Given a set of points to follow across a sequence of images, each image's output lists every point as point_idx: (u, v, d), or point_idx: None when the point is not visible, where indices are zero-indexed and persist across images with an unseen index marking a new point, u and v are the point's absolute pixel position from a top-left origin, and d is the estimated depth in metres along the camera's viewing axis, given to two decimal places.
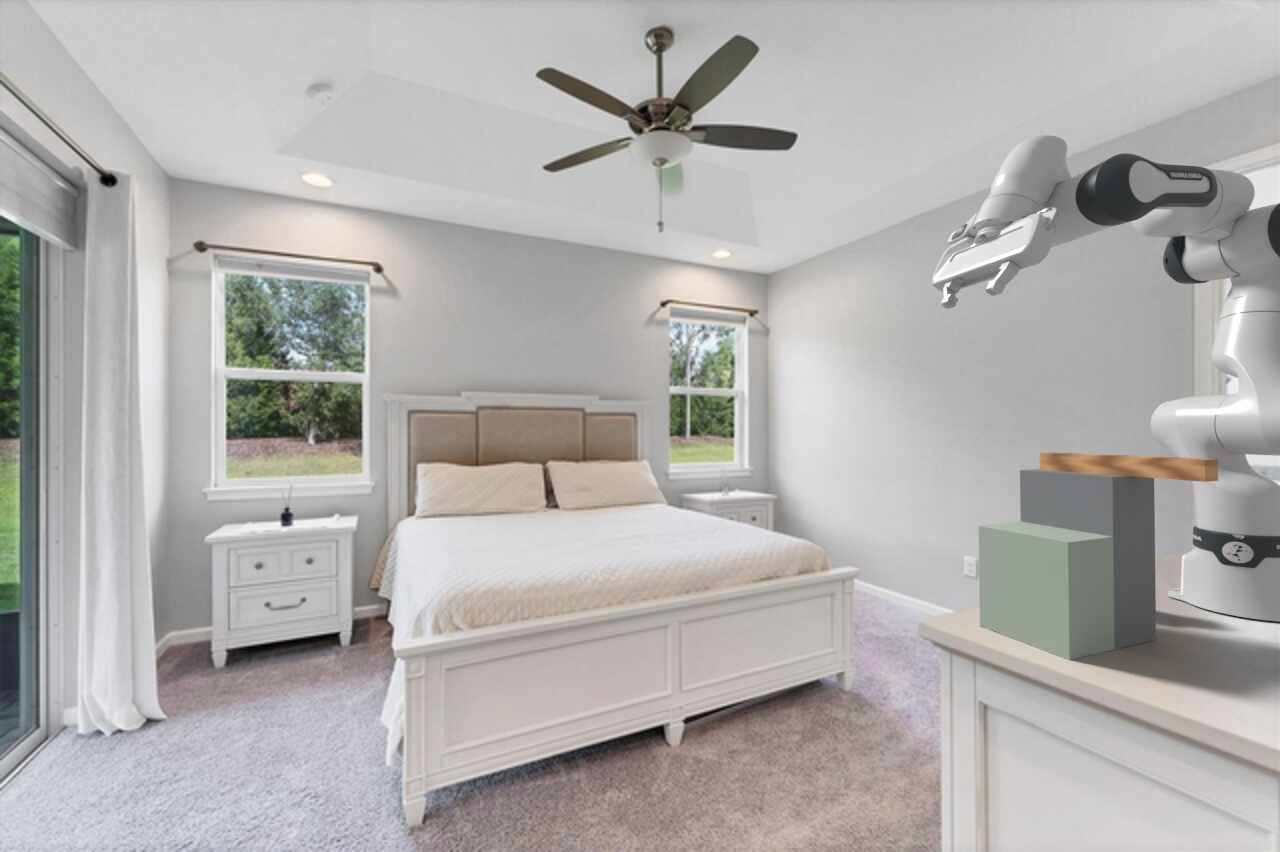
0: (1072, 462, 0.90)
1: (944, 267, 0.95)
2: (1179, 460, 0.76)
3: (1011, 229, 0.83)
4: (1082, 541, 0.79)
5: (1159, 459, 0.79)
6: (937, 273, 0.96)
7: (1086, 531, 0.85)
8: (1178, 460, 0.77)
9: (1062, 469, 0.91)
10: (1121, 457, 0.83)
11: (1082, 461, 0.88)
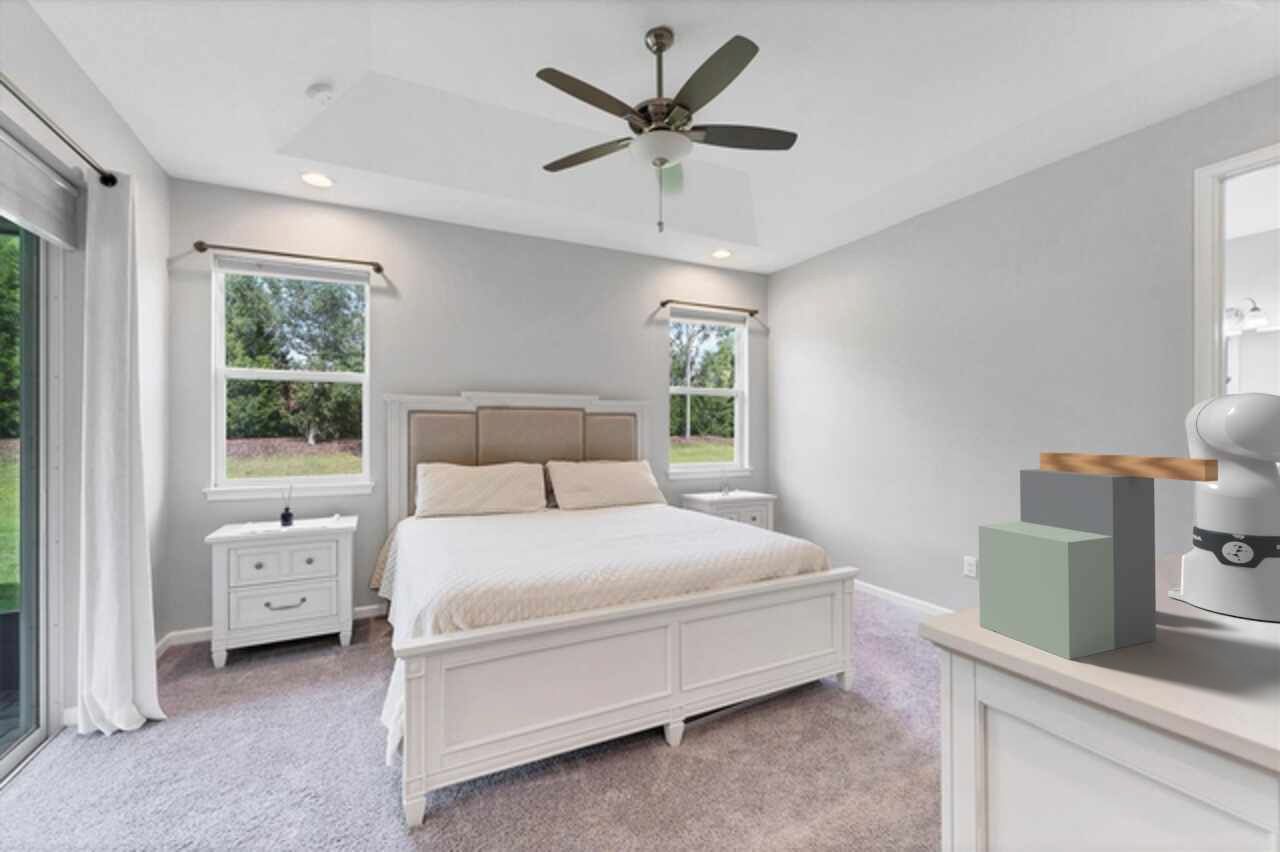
0: (1072, 462, 0.90)
1: None
2: (1179, 460, 0.76)
3: None
4: (1082, 541, 0.79)
5: (1159, 459, 0.79)
6: None
7: (1086, 531, 0.85)
8: (1178, 460, 0.77)
9: (1062, 469, 0.91)
10: (1121, 457, 0.83)
11: (1082, 461, 0.88)
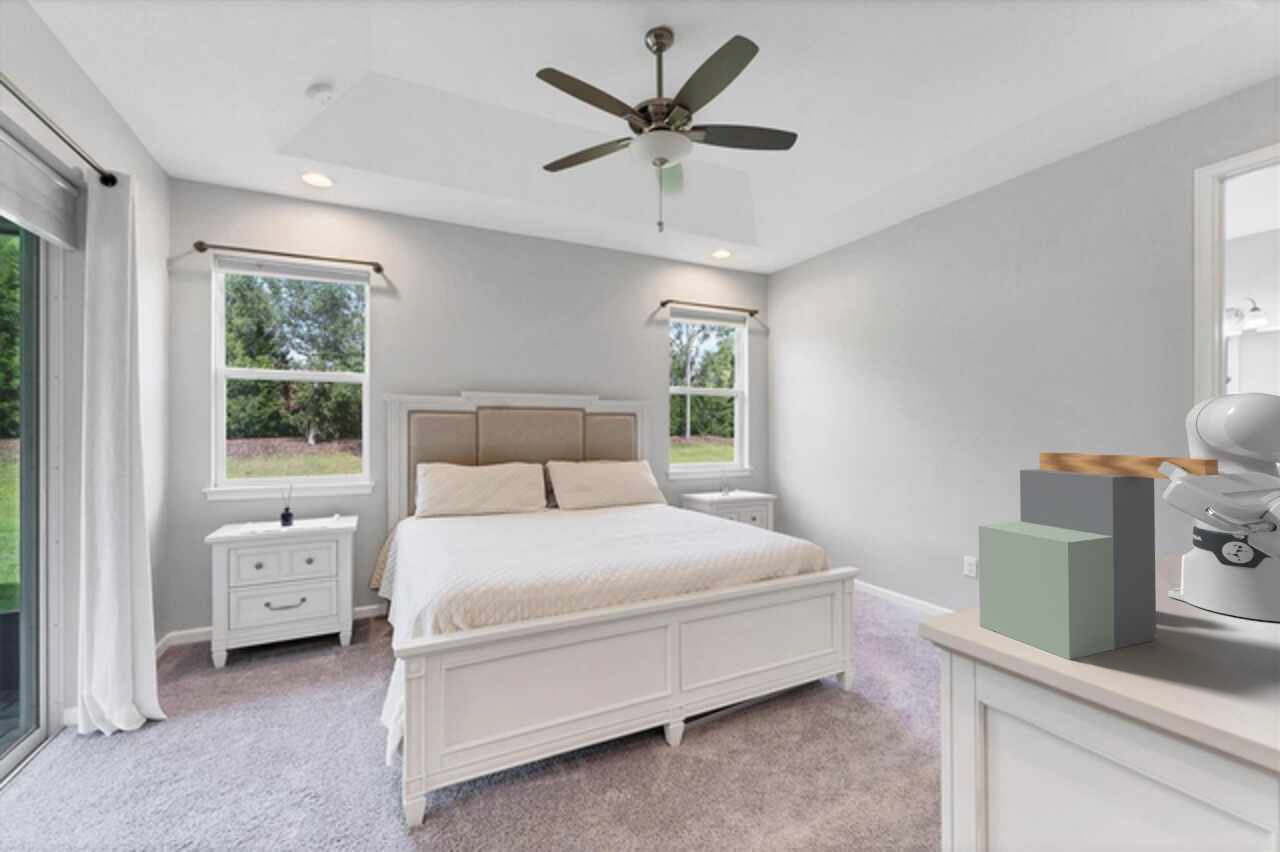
0: (1072, 461, 0.90)
1: (1277, 483, 0.74)
2: (1179, 460, 0.76)
3: (1247, 500, 0.68)
4: (1082, 541, 0.79)
5: (1159, 459, 0.79)
6: (1273, 478, 0.75)
7: (1086, 531, 0.85)
8: (1178, 460, 0.77)
9: (1062, 469, 0.91)
10: (1121, 457, 0.83)
11: (1082, 461, 0.88)
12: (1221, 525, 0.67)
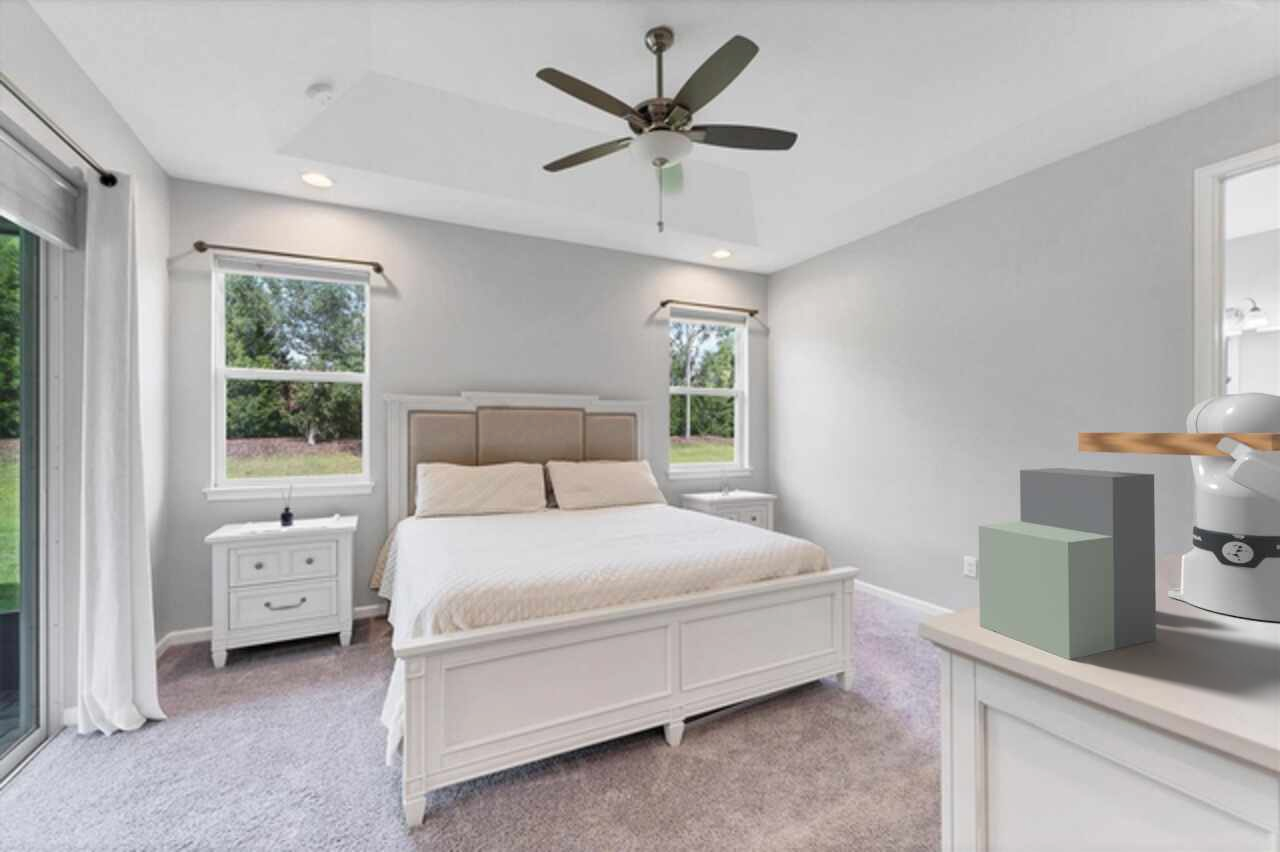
0: (1116, 441, 0.83)
1: None
2: (1241, 435, 0.70)
3: None
4: (1082, 541, 0.79)
5: (1217, 435, 0.72)
6: None
7: (1086, 531, 0.85)
8: (1240, 435, 0.70)
9: (1104, 450, 0.85)
10: (1173, 434, 0.77)
11: (1127, 440, 0.82)
12: None
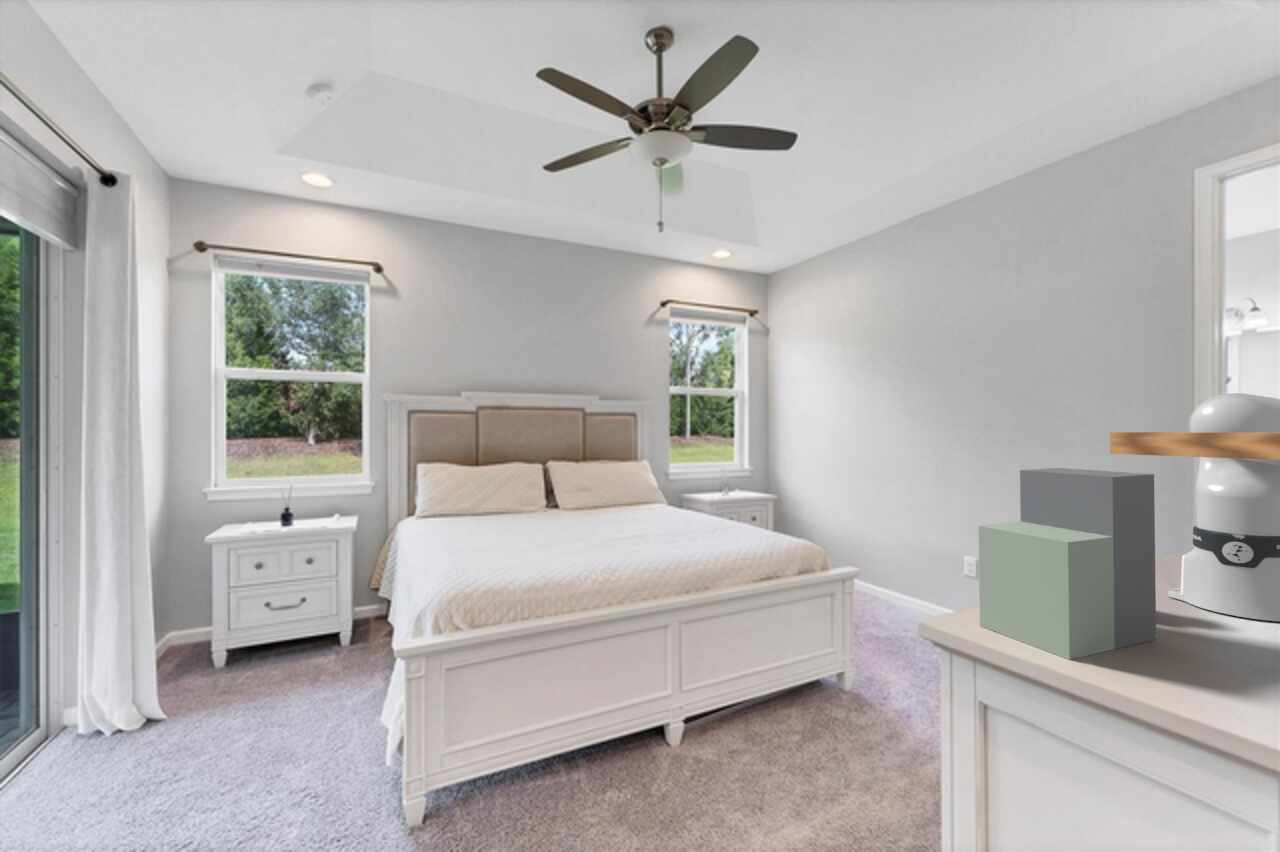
0: (1156, 442, 0.71)
1: None
2: None
3: None
4: (1082, 541, 0.79)
5: None
6: None
7: (1086, 531, 0.85)
8: None
9: (1141, 452, 0.72)
10: (1228, 434, 0.64)
11: (1170, 441, 0.70)
12: None
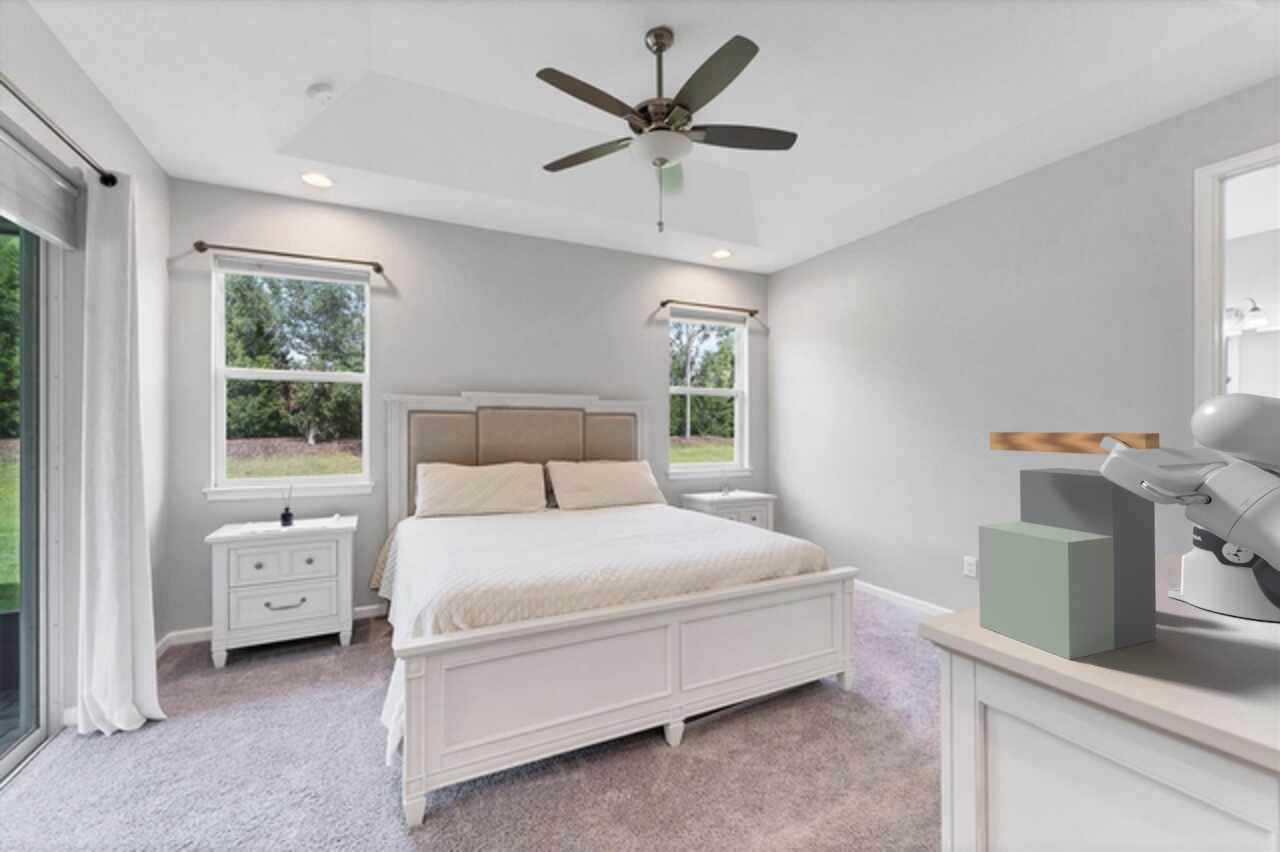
0: (1020, 440, 0.88)
1: (1219, 457, 0.72)
2: (1121, 435, 0.75)
3: (1183, 472, 0.66)
4: (1082, 541, 0.79)
5: (1102, 434, 0.77)
6: (1216, 452, 0.73)
7: (1086, 531, 0.85)
8: (1120, 435, 0.75)
9: (1011, 448, 0.89)
10: (1066, 434, 0.81)
11: (1030, 439, 0.86)
12: (1155, 498, 0.65)
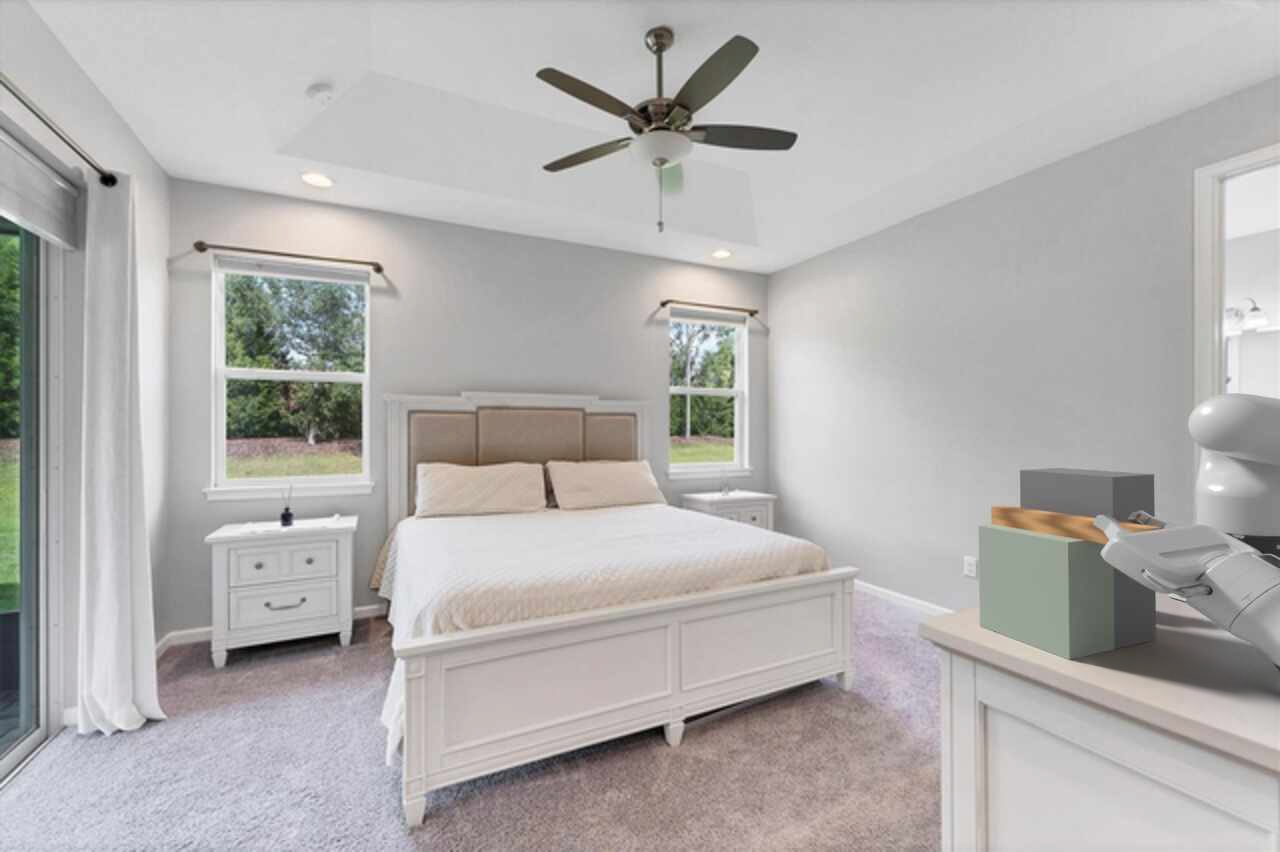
0: (1022, 518, 0.88)
1: (1220, 538, 0.72)
2: (1123, 527, 0.75)
3: (1184, 561, 0.66)
4: (1082, 541, 0.79)
5: None
6: (1216, 532, 0.73)
7: None
8: (1122, 527, 0.75)
9: (1012, 525, 0.89)
10: (1068, 518, 0.81)
11: (1031, 519, 0.86)
12: (1156, 587, 0.65)
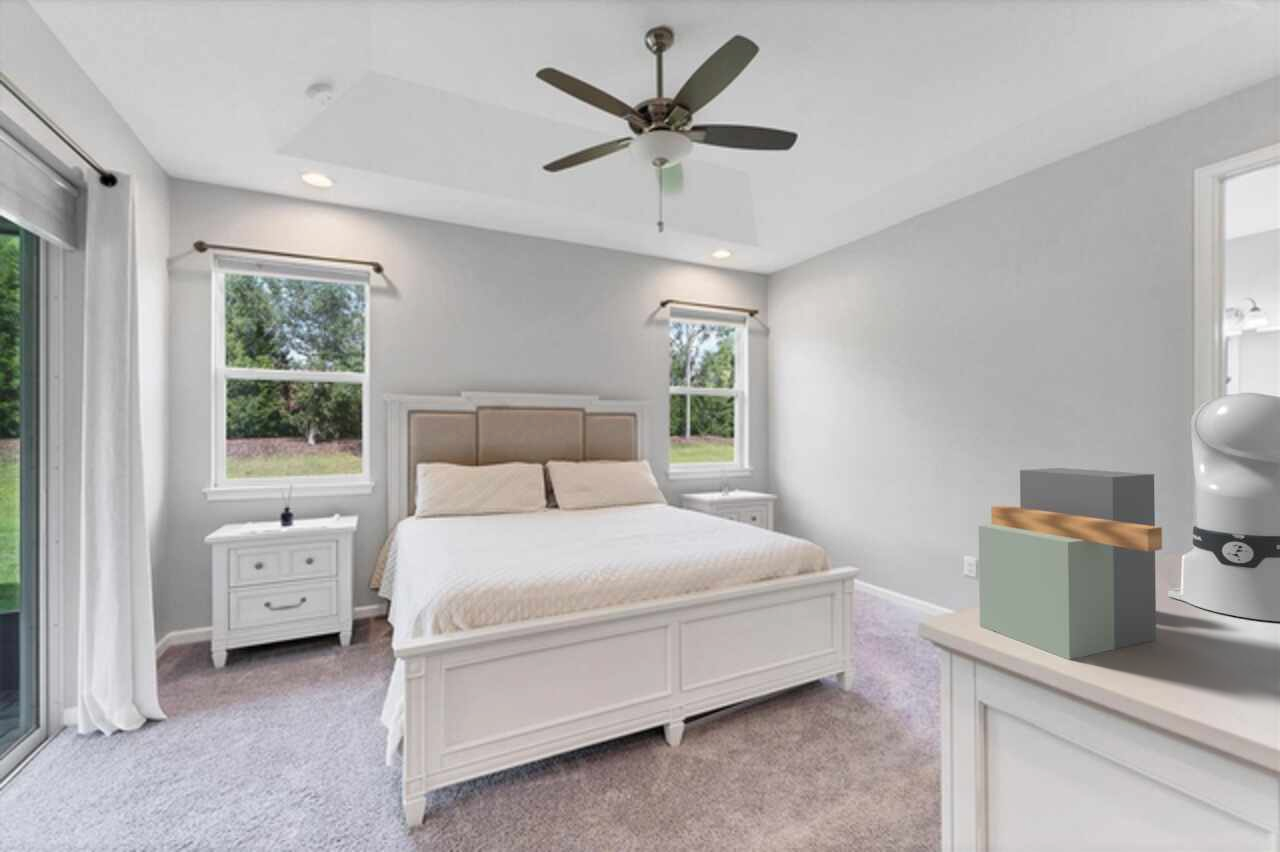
0: (1022, 518, 0.88)
1: None
2: (1123, 527, 0.75)
3: None
4: (1082, 541, 0.79)
5: (1104, 524, 0.77)
6: None
7: None
8: (1122, 527, 0.75)
9: (1012, 525, 0.89)
10: (1068, 518, 0.81)
11: (1031, 519, 0.86)
12: None
